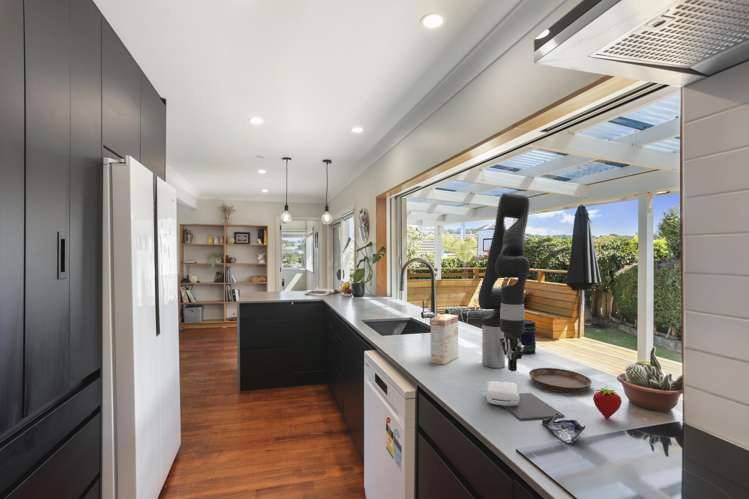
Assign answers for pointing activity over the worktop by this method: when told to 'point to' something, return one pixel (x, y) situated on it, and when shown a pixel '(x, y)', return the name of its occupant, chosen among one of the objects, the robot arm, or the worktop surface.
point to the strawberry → (607, 402)
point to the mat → (532, 408)
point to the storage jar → (529, 337)
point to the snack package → (564, 427)
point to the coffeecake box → (444, 338)
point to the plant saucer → (560, 380)
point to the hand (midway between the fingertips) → (512, 370)
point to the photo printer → (502, 393)
